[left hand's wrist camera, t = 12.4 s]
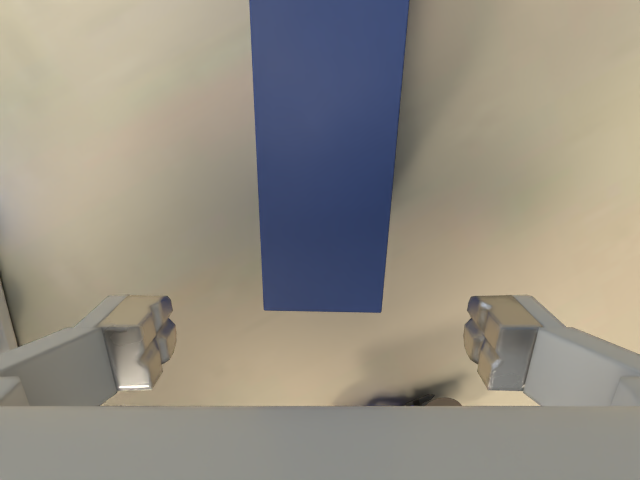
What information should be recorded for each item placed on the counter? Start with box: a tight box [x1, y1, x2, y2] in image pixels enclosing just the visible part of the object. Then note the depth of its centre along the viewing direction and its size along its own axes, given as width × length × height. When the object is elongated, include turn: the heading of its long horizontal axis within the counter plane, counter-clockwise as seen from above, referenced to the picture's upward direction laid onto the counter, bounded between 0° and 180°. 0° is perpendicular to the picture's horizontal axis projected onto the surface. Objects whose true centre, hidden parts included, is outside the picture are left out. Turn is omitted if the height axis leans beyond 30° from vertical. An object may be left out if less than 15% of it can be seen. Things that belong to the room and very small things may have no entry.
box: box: [249, 0, 409, 313], centre depth 21 cm, size 23×6×11 cm, turn 179°
